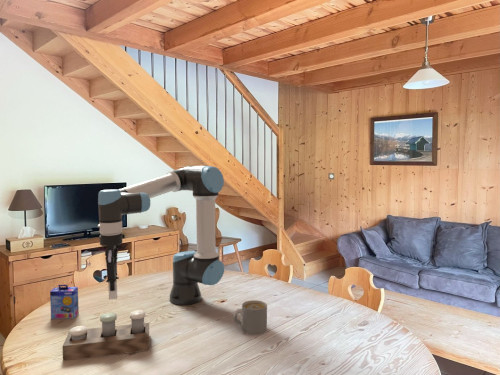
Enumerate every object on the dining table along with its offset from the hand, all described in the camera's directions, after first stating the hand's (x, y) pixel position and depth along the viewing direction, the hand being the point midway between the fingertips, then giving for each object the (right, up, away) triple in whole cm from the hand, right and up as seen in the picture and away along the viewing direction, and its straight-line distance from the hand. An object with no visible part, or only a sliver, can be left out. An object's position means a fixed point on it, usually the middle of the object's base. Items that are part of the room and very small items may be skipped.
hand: (113, 298), depth 136 cm
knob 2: (+8, -13, +3) cm, 16 cm away
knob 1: (-11, -17, -2) cm, 21 cm away
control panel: (-2, -18, 0) cm, 18 cm away
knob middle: (-2, -13, 0) cm, 13 cm away
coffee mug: (+49, -17, +16) cm, 54 cm away
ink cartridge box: (-30, -16, +27) cm, 44 cm away
